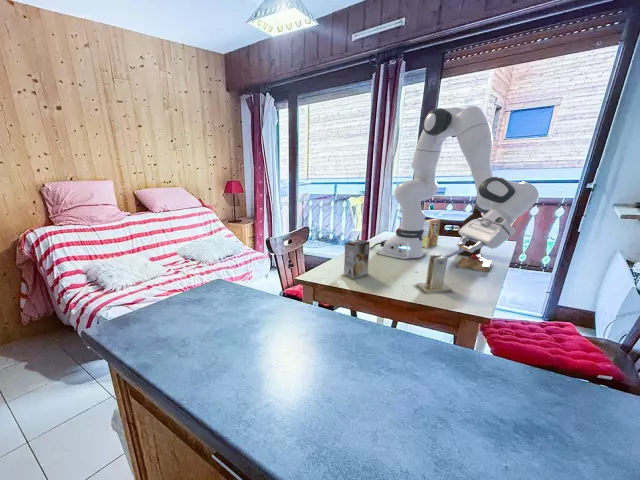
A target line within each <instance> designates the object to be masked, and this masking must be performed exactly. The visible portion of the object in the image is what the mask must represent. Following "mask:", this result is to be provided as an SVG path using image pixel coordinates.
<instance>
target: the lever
mask: <svg viewBox="0 0 640 480" xmlns="http://www.w3.org/2000/svg"><path fill="white" fill-rule="evenodd" d="M460 248H461V249H459V248H458V249H457V250H454V251H452V252H450V253H448V254H446V255H444V256H443V255H442V257H447V258H448V259H449V258H452V257H455V256H456V255H460V254H459V253H461V252H463V251H465V250H466V251H468V250H467V249H468V248H469V247H466V246H464V245H461V246H460ZM468 252H469V251H468ZM442 257H440V256H438V257H436V258H442ZM432 260H433V263H434V261H435V258H433V259H432Z"/></svg>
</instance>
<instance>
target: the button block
mask: <svg viewBox="0 0 640 480" xmlns="http://www.w3.org/2000/svg"><path fill="white" fill-rule="evenodd" d="M491 265H492V260H487V259H485V258H484V257H482V256H481V258H480V259H479V260H476V259H471V256H467V257H464V256H463V257H461V259H460V260H459V261H458V263H457V268H461V269H467V270H476V271H483V272H488V271H489V270H490V268H491Z"/></svg>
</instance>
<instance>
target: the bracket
mask: <svg viewBox="0 0 640 480" xmlns="http://www.w3.org/2000/svg"><path fill="white" fill-rule="evenodd" d="M438 256H440V257H442V258H436V257H438ZM433 258H435V261H434V263H433V260H432V259H433ZM448 259H449V258H447V257H443V254H439V253H438V254H430V255H429V260H428V265H427V273H426V278H425V279H426V280H425V282H417V283H416V285H417V286H419V287H420V288H421V289H422V290H423V291H425V293H426V292H448V291H452V288H451V287H449V286H448V285H447V284H445V283H444V281H445V277H446V270H447V265H448V264H447V263H448Z"/></svg>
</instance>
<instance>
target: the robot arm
mask: <svg viewBox="0 0 640 480" xmlns="http://www.w3.org/2000/svg"><path fill="white" fill-rule="evenodd" d="M422 124H423V126H422V128H423V129H422V132H421V134H420V136H419V138H418V141H417V144H416V147H415V150H414V154H413V158H412V163H411V168H412V170H413V179H412V180H411V179H410V180H406V181H403V182H402V183H399V184H398V185H397V186H396V187H395V189H394V198H395V200H396V201H397V202H398V204H399V206H400V212H401V213H400V214H401V217H400V226H398V228H397V229H395V235H393V236H392V237H390V238H388V239H384V240H382V241H380V242H377V243H375V244H374V245H372V247H371V246H369V250H372V249H374V248H375V247H376V246H378V245H380V247H381V248H380V249H379V250H378V252H377V253H378V255H381V256H386V257H391V258H397V259H402V260H408V259H418V258H422V257H424V252H423V247H422V240H423V237H424V229H423V228H424V221H425V220H426V213H425V212H424V211H423V209H422V202H423V201H428V200H429V199H431V198H433V197H435V196H436V195H437V193H438V191H439V185H438V183H437V181H436V173H437V167H438V164H439V163H438V162H439V159H440V155H441V153H442V149H443V146H444V143H445V140H447V138H449V137H451V138H452V139H453V138H456V139H457V143H458V146H459V148H460V150H461V152H462V154H463V156H464V158H465V160H466V163H467V164H468V167H469V168H470V171H471V174H472V175H471V176H472V179H473V181H474V186H475V189H476V198H475V202H474V206H476V208H477V209H478V210H479V211H480V212H481V214H484V215H482V216H483V217H482V218H478V219H474V220H471V221H470V222H468V223H467V224H466V225H464V226H463V227H462V226H461V227H460V228H459V229H458V232H457V233H458V235H460V237H461V236H462V239H461V238H460V239H461V241H460V240H459V241H458V243H457V244H456V246H457V248H459V247H460V246H461V245H464V244H465V242H466V241H468V240H471V241H474V242H476V243H477V244H475V245H473V246H470V247H469V248H468V249H467V250H468V251H469V252H471V253H473V252H474V251H475V250H477V249H479V248H481V249H482V248H483V247H487V248H490V249H492V250H493V249H496V248H498V247H500V246H502V245H503V244H504V243H505V242H506V241H507V240H508V239H509V238H510V236H513V235H514V234H516V232H517V231H516V230H515V228H514V227H513V226H512V225H513V224H514V222H515V221H516V220H517V219H518V218H519V217H521V216H523V215H524V214H525V213H526V212H527V211H529V210H530V209H531V208H532V207H533V206H534V205H535V204H536V203H537V201H538V200H539V191H538V189H537V188H536V187H535V186H534V185H533V183H530V182H526V181H522V182H517V181H511V180H507V179H505V178H503V177H500V176H494V175H493V171H492V169H491V155H492V150H493V143H494V140H493V134H492V133H493V132H492V128H491V125H490V123H489V121H488V117H487V116H486V115H485V113H484V112H483V109H481V107H479V106H476V105H471V106H467V107H465V108H462V107H445V108H442V107H439V108H434V109H431V110H430V111H429V112H428V113H427V114H426V115H425V117H424V120H423V123H422ZM464 246H465V245H464Z"/></svg>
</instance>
